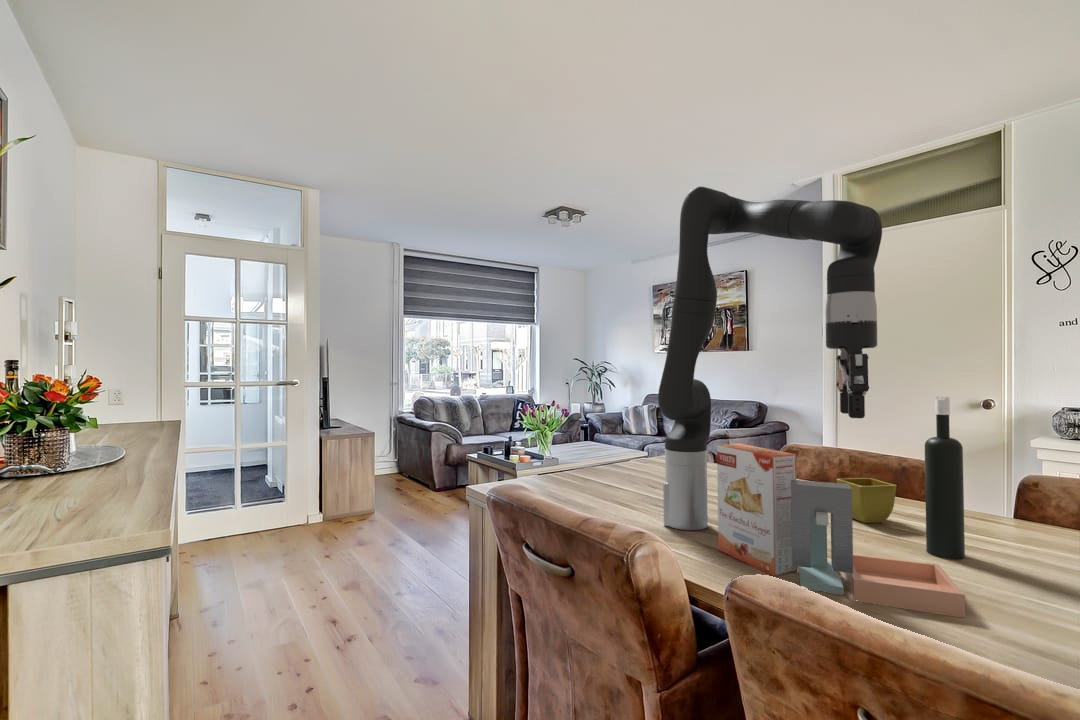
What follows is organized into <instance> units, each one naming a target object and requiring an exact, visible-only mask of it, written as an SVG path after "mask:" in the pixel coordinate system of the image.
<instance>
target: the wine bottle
mask: <svg viewBox="0 0 1080 720" xmlns="http://www.w3.org/2000/svg"><path fill="white" fill-rule="evenodd" d="M934 400H935V405H934V406H935V408H934V409H935V416H936V418H935V419H936V423H935V424H936V436H933V437H929V438H928V439H927V440H926V441H925V443H924V480H925V482H924V483H925V484H924V485H925V487H924V489H925V491H924V492H925V529H926V530H925V534H926V535H925V537H926V540H925V541H926V545H925V546H926V547H925V548H926V552H927V553H928V554H929V555H932V556H934V557H937V558H941V559H947V560H956V561H957V560H958V561H960V560H964V559H965V557H966V552H965V548H966V547H965V499H964V498H965V496H964V493H965V492H964V489H965V488H964V456H963V455H964V452H963V451H964V450H963V449H964V448H963V445H962V443H961V441H959V440H957V439H955V438H954V437H950V435H951V434H950V414H951V407H950V406H951V405H950V397H949V396H935V399H934Z"/></svg>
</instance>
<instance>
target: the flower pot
mask: <svg viewBox="0 0 1080 720" xmlns="http://www.w3.org/2000/svg"><path fill="white" fill-rule="evenodd" d="M836 481H837V482H836V483H841V484H849V485H850V487H851V488H852V520H856V521H859V522H861V523H864V524H867V523H868V524H869V523H870V524H871V523H885V522H886V521H887V520H888V518H889V517H890V515H891V514H892V512H893V509H894V506H895V500H896V492H897V484H893V483H889V482H885V481H882V480H879V479H875V478H871V477H857V478H855V477H854V478H851V477H849V478H836Z"/></svg>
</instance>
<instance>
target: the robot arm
mask: <svg viewBox="0 0 1080 720" xmlns="http://www.w3.org/2000/svg"><path fill="white" fill-rule="evenodd" d="M736 233H751V234H752V233H753V234H760V235H764V236H768V237H776V238H781V239H789V240H797V241H798V240H799V241H808V240H811V241H812V240H813V241H818V242H824V243H829V244H835V245H839V252H838V258H837V260H834V261H832V262H831V263H830V264H829V265H828V267H827V270H826V304H825V346H826V348H827V349H830V350H840V355H837V356H836V358H835V360H836V363H835V366H836V388H837V390H838V392H839V411H840V413H842V414H848V417H849V418H851V419H864V418H865V416H866V414H865V413H866V411H865V409H866V408H865V401H866V400H865V399H866V398H865V395H866V394H867V393H868V392H869V390H870V385H869V361H868V360H869V355H868V353H863V350H864V349H874V348H876V347H877V346H878V307H877V300H876V284H875V283H876V282H875V281H876V280H875V279H876V277H875V265H876V261H877V259H878V255H879V250H880V246H881V241H882V238H883V224H882V220H881V215H879V213H878V212H877V211H876V209H874V208H872V207H870V206H867V205H863V204H860V203H857V202H853V201H849V200H837V199H836V200H834V199H833V200H830V199H829V200H819V201H812V200H803V199H802V200H801V199H800V200H799V199H775V200H773V199H772V200H767V201H762V202H761V201H757V202H756V201H749V200H746V199H745V200H744V199H740V198H738V197H735V196H731V195H730V194H728V193H726V192H724V191H720V190H716V189H713V188H709V187H706V186H696V187H693V188H692V189H690V190H689V191H688V193H687V194H686V195H685V198H684V199H683V202H682V205H681V209H680V218H679V246H678V263H677V272H676V273H677V274H676V283H675V290H674V296H673V303H672V312H671V321H670V323H671V324H670V331H669V338H668V343H667V350H666V351H667V352H666V358H665V362H664V367H663V371H662V375H661V379H660V385H659V388H658V395H657V402H658V408H659V410H660V412H661V414H662V415H663V416H664V417H665V418H666V419H668V420H670V421H674V424H673V427H672V429H671V430H670V432H668V433H667V435H665V438H664V460H665V461H664V464H665V465H664V469H665V470H664V471H665V472H664V473H665V474H664V475H665V478H664V479H665V481H664V482H663V485H662V487H663V488H662V489H663V492H662V493H663V526H664V527H665V526H666V527H671V528H673V529H676V530H681V531H700V530H701V531H702V530H704V529H705V530H706V528H707V527H708V524H709V523H708V519H709V515H708V450H707V449H708V448H707V447H708V446H707V444H708V441H709V439H710V435H711V426H712V424H711V423H712V398H711V397H712V396H711V394H710V390H709V388H708V387H707V385H706V384H705V383H704V382H703V381H701V380H699V379H695V371H696V364H697V361H698V357H699V355H700V353H701V350H702V349H703V346H704V344H705V343H706V340H707V339H708V337H709V336H710V333H711V331H712V329H713V325H714V323H715V322H714V321H715V317H716V309H717V303H718V289H717V285H716V281H715V276H714V274H713V271H712V269H711V265H710V262H709V256H708V254H709V253H708V245H709V235H722V234H723V235H724V234H736Z"/></svg>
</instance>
